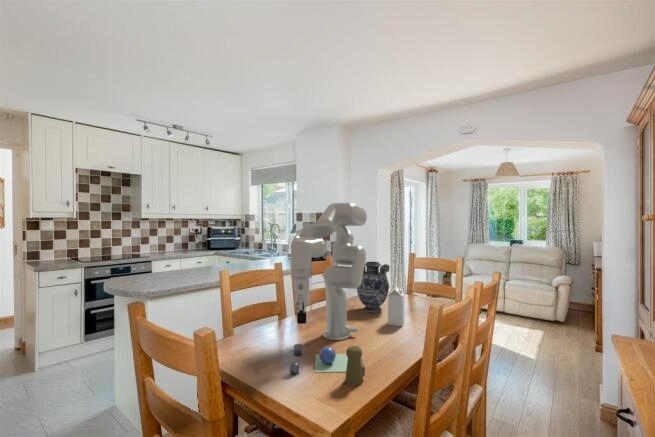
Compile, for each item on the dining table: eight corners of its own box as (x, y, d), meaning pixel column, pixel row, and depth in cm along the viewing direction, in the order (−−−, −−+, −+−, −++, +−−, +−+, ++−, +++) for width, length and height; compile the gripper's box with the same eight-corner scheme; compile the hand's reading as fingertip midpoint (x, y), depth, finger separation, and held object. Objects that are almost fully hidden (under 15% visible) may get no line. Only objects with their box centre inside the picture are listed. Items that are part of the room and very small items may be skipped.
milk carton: (387, 325, 155) (387, 287, 155) (390, 320, 161) (390, 284, 161) (402, 327, 152) (402, 288, 152) (404, 322, 158) (404, 285, 159)
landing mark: (351, 354, 121) (351, 353, 121) (355, 371, 107) (355, 371, 107) (315, 354, 121) (315, 354, 121) (314, 372, 107) (314, 371, 107)
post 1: (302, 352, 123) (302, 343, 123) (301, 356, 120) (301, 347, 120) (294, 352, 123) (294, 344, 123) (293, 356, 120) (293, 347, 120)
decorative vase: (348, 310, 179) (348, 262, 179) (363, 304, 194) (364, 259, 194) (382, 317, 167) (383, 265, 167) (395, 309, 182) (396, 262, 182)
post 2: (299, 371, 108) (299, 361, 108) (298, 375, 105) (298, 365, 105) (290, 371, 108) (290, 361, 108) (289, 375, 105) (289, 365, 105)
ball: (324, 362, 117) (338, 355, 116) (323, 370, 111) (338, 363, 110) (317, 348, 117) (331, 341, 116) (315, 355, 111) (330, 348, 110)
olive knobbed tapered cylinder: (343, 376, 104) (343, 344, 104) (361, 376, 104) (361, 343, 104) (346, 386, 98) (346, 351, 98) (365, 385, 98) (365, 350, 98)
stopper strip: (358, 352, 123) (358, 345, 123) (364, 374, 105) (364, 367, 105) (353, 352, 123) (353, 345, 123) (358, 374, 105) (358, 367, 105)
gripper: (310, 277, 107) (311, 330, 107) (312, 269, 121) (312, 316, 122) (289, 277, 106) (289, 330, 106) (293, 269, 121) (293, 316, 121)
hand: (301, 322), depth 114 cm, fingers closed
